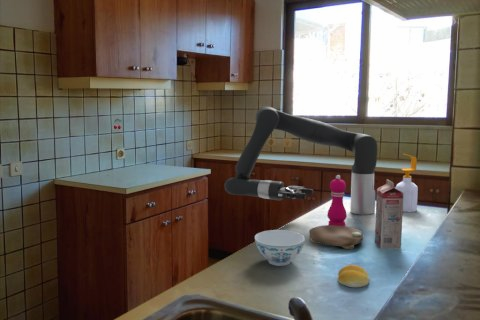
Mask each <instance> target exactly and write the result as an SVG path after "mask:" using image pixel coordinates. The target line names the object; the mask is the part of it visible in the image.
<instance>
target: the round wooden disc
mask: <svg viewBox="0 0 480 320" xmlns="http://www.w3.org/2000/svg"><path fill="white" fill-rule="evenodd" d="M308 235H309V239H310V242H312V243H317V244H318V243H319V244H321V245H326V246H334V247H335V246H336V247H338V246H339V247H341V248H342V249H345V250H353V249H354V247H355V245H358V244H360V243H362V242H363V239H364V234H363V232H362V231H361V230H359V229H357V228H354V227H351V226H346V225H345V226H338V225H319V226H315V227H312V228H311V229H309V234H308Z"/></svg>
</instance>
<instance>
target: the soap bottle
mask: <svg viewBox="0 0 480 320" xmlns="http://www.w3.org/2000/svg"><path fill="white" fill-rule="evenodd" d="M403 156H408V157H409V158H410V159H411V161H410V168H401V169H400V171H403V173H405V175H403V176H402V180H401V181H400V182H398V183H397V184H396V186H395V188H396V189H398V190H399V191H401V192H402V193H404V195H403V213H404V212H405V213H413V212H416V211H417V209H418V194H419V193H418V191H419V190H418V189H419V188H418V185H416V184H415V183H414V182H412V175H410V174H411V173H412V172H415V171H416V170H417V163H418V159H417V157H416V156H413V155H410V154H407V153H403Z"/></svg>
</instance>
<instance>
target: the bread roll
mask: <svg viewBox="0 0 480 320" xmlns="http://www.w3.org/2000/svg"><path fill="white" fill-rule="evenodd" d="M337 275H338V277H337V281H338V283H340V284H341V285H342V286H345V287H349V288H361V287H362V288H363V287H366V286H367V285H368V284H369V282H370V276H369V274H368V272H367V270H365V269H364V268H363V267H361V266H359V265H356V264H348V265H346V266H343V267H341V268H340V269H339V271H338V274H337Z"/></svg>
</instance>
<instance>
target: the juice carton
mask: <svg viewBox="0 0 480 320" xmlns="http://www.w3.org/2000/svg"><path fill="white" fill-rule="evenodd" d="M403 195H404V193H402V192H401V191H399V190H398V189H396V186H395V183H394V182H393V181H391V180H389V179H388V178H387V179H386V183H385V184H384V185H382V186H379V187H378V188H377V189H376V197H375V222H374V223H375V226H374V244H376V246H377V247H379V249H380V250H388V249H390V250H394V249H395V250H401V249H402V235H403V234H402V231H403V214H404V212H403Z"/></svg>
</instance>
